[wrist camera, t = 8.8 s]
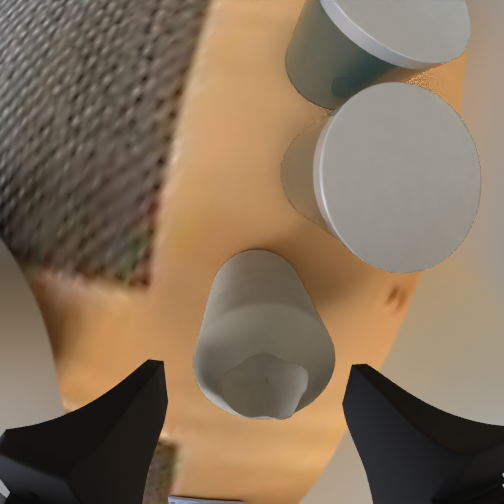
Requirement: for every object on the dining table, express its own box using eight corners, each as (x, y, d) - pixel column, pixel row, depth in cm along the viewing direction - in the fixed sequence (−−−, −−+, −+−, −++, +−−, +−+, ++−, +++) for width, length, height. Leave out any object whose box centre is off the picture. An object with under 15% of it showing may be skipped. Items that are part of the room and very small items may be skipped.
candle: (276, 232, 19) (310, 292, 9) (313, 307, 20) (363, 407, 11) (196, 273, 20) (156, 363, 10) (238, 343, 21) (236, 457, 11)
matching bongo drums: (371, 227, 19) (470, 274, 9) (276, 221, 19) (311, 271, 9) (376, 35, 16) (456, -36, 6) (285, 19, 16) (316, -82, 6)
